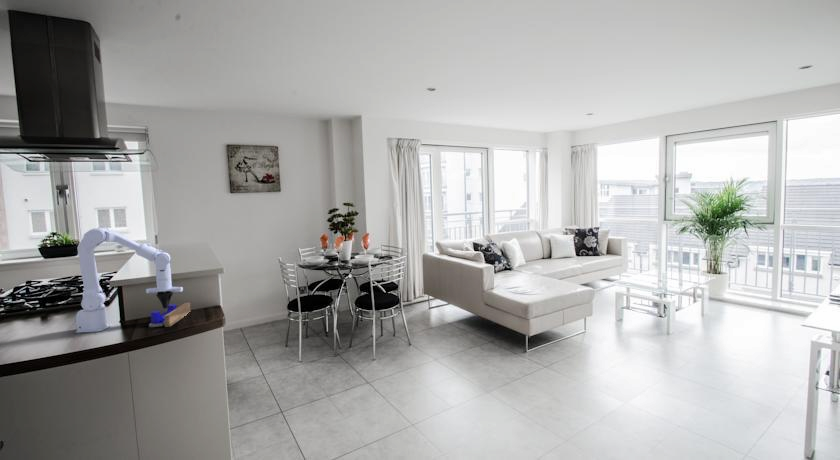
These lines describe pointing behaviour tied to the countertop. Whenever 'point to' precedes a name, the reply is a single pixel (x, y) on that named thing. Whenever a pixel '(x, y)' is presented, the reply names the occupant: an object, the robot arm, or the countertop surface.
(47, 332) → the countertop surface
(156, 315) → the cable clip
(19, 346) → the countertop surface
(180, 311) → the backboard
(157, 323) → the mounting rail
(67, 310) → the countertop surface
